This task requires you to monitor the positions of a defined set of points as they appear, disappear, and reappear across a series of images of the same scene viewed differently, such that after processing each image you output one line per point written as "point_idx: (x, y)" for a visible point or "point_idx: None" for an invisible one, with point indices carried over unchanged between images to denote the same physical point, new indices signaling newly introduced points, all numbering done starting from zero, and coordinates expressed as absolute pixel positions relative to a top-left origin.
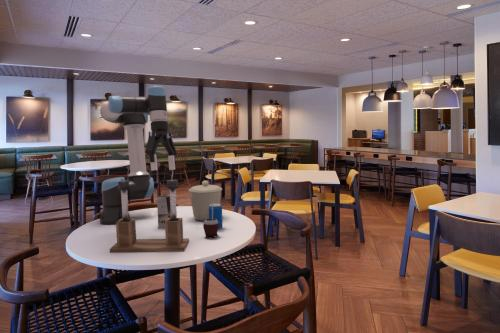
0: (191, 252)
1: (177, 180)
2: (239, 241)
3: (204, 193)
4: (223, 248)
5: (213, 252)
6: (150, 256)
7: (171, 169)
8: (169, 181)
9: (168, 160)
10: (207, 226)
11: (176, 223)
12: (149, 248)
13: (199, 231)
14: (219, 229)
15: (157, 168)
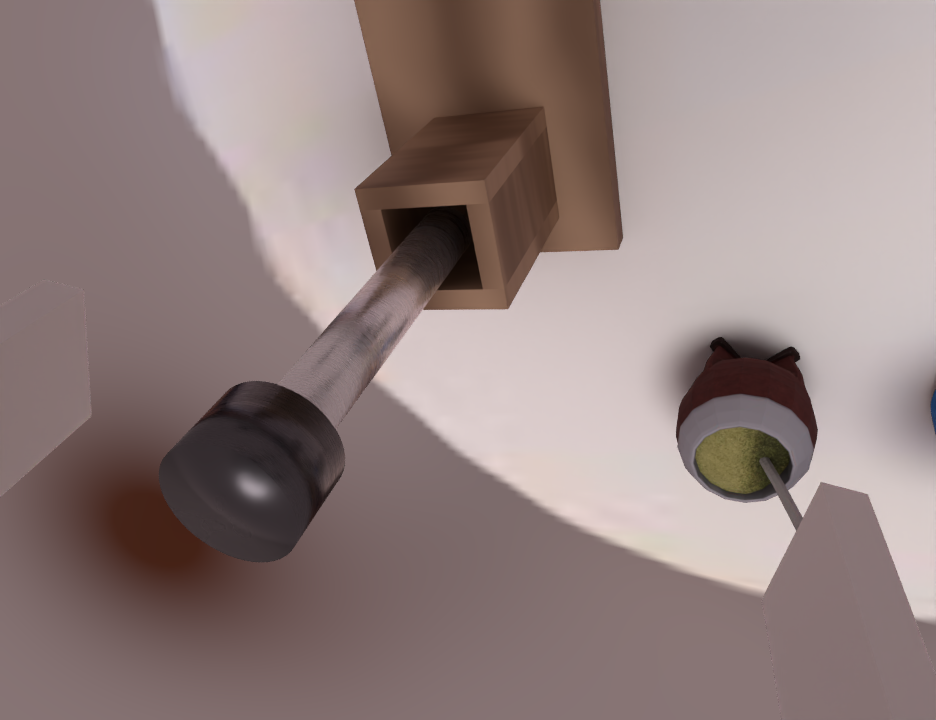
0: None
1: (250, 560)
2: (639, 529)
3: None
4: (506, 450)
5: (436, 404)
6: (294, 47)
7: (794, 543)
8: (161, 480)
9: (884, 712)
10: (678, 415)
11: None
12: (356, 6)
13: (930, 270)
14: None
15: (72, 431)
